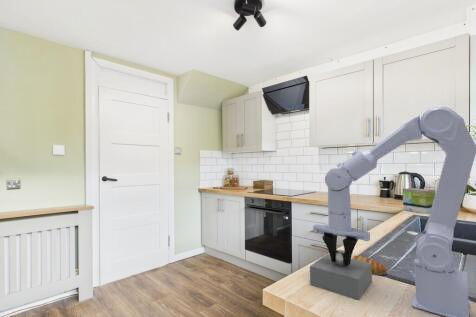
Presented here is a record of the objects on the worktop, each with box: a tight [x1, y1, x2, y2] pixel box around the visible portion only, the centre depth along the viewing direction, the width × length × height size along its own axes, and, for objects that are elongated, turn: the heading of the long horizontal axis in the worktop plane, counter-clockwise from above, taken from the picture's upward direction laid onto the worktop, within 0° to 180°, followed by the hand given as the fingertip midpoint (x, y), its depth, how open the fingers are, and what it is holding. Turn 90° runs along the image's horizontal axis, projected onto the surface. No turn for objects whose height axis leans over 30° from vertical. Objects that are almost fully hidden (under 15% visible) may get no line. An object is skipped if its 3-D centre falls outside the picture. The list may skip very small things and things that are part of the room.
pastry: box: [352, 254, 388, 276], centre depth 76 cm, size 9×7×4 cm
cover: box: [309, 249, 373, 301], centre depth 68 cm, size 12×12×8 cm
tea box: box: [402, 187, 436, 215], centre depth 164 cm, size 15×10×15 cm
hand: (340, 262), depth 68 cm, fingers closed on cover, 3 cm apart
